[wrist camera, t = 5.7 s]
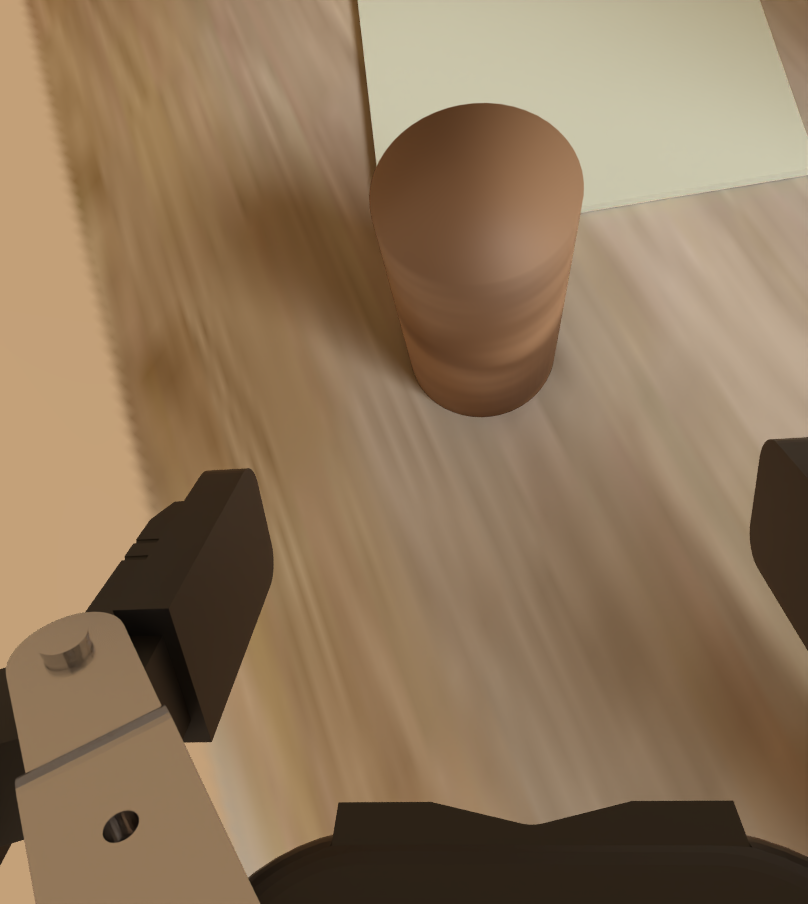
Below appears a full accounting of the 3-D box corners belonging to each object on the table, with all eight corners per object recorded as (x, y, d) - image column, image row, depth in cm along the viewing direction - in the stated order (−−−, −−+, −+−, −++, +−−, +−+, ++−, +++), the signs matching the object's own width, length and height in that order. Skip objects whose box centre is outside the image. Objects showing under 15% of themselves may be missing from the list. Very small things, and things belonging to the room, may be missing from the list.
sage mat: (720, -94, 31) (723, -104, 30) (813, 174, 26) (818, 167, 26) (355, -22, 32) (354, -30, 32) (386, 245, 28) (385, 239, 27)
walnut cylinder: (541, 276, 26) (563, 86, 18) (566, 405, 25) (603, 264, 16) (403, 298, 27) (360, 122, 18) (418, 426, 25) (380, 299, 17)
